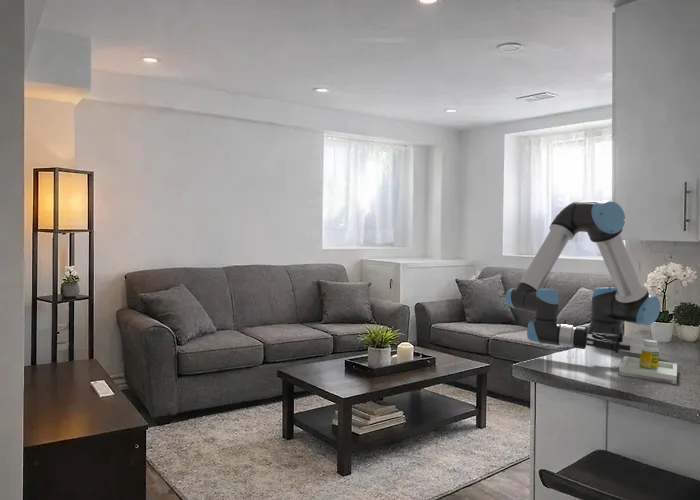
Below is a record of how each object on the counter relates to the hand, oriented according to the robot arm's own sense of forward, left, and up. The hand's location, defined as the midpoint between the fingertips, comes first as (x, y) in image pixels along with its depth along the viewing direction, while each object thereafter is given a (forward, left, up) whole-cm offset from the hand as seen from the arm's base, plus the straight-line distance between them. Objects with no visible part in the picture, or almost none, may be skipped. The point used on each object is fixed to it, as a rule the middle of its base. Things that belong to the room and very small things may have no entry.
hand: (643, 346), depth 187 cm
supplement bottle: (0, +2, -8) cm, 8 cm away
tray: (0, +2, -9) cm, 9 cm away
